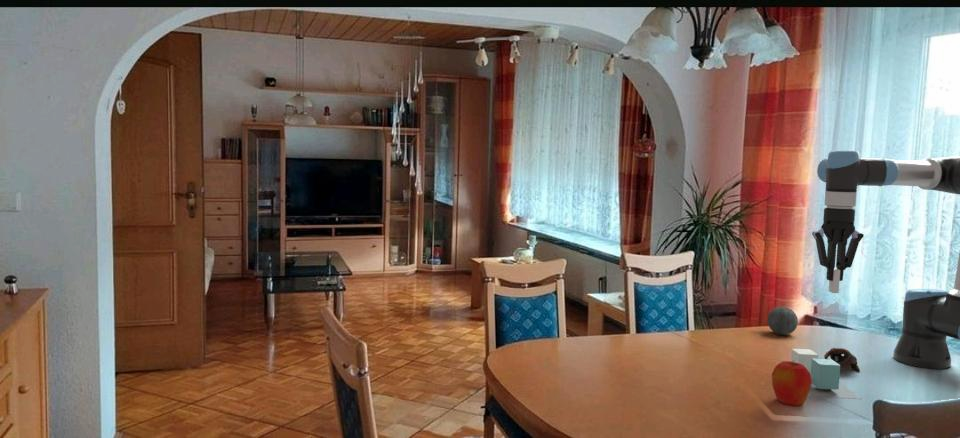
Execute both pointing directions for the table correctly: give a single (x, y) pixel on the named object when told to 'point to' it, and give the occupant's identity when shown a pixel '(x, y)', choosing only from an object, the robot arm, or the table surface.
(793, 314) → the decorative ball
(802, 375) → the apple
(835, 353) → the dark brown curved piece
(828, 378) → the pale aqua cube
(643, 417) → the table surface
